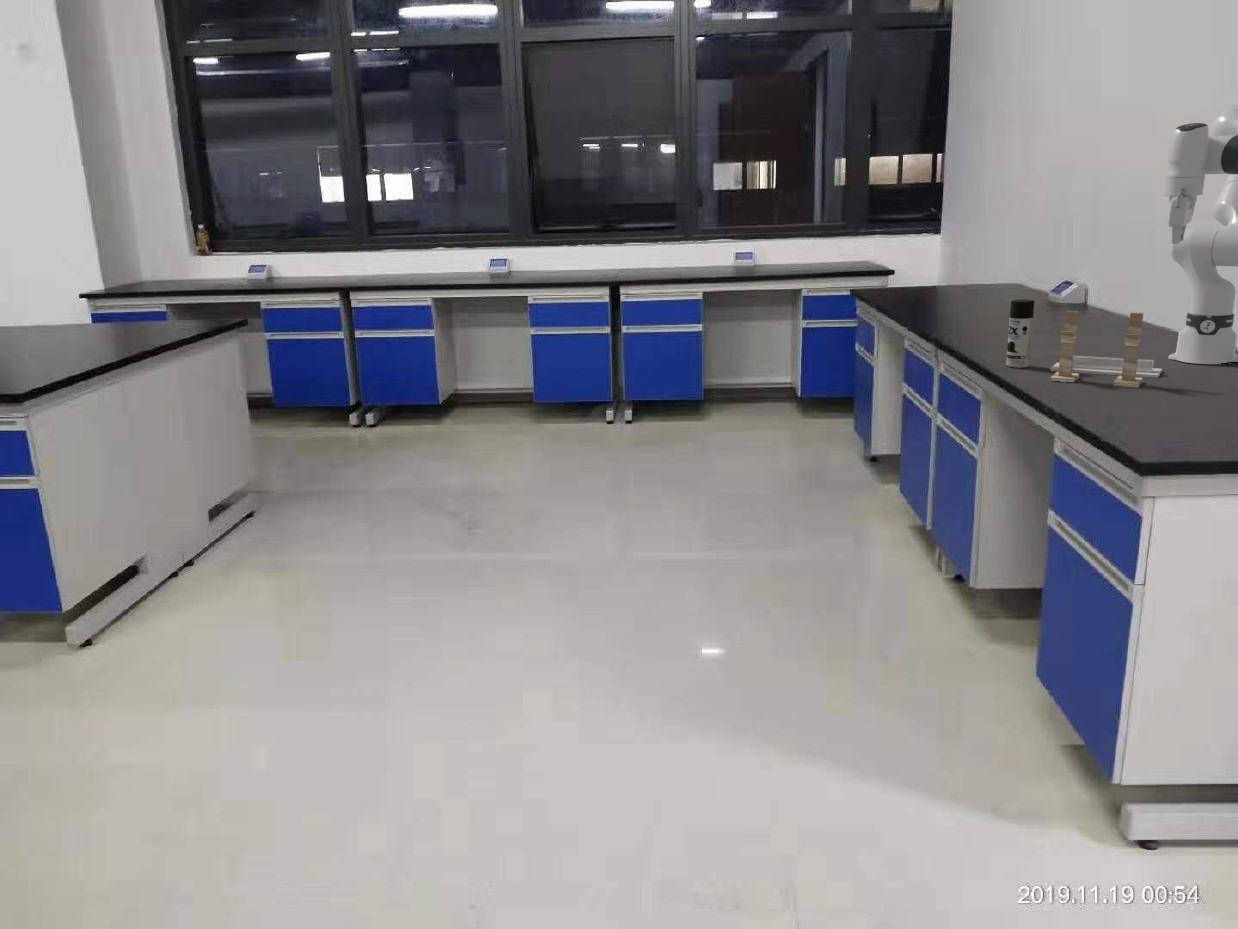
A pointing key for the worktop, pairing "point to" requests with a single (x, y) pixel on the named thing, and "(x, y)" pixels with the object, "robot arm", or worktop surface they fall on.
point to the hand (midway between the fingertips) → (1177, 242)
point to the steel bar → (1110, 363)
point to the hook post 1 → (1067, 349)
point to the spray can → (1020, 333)
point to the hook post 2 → (1131, 353)
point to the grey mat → (1110, 371)
